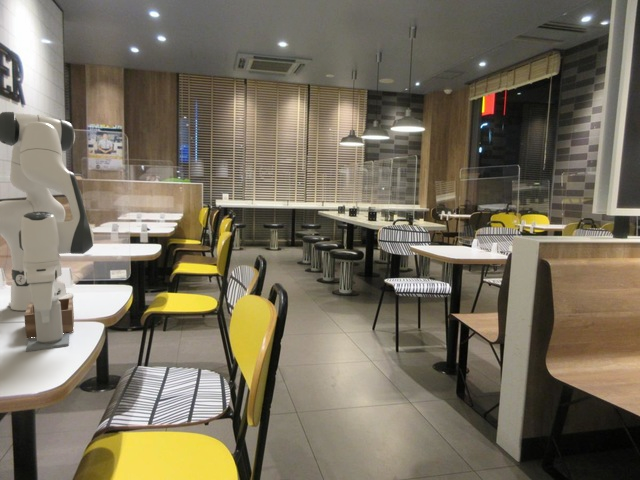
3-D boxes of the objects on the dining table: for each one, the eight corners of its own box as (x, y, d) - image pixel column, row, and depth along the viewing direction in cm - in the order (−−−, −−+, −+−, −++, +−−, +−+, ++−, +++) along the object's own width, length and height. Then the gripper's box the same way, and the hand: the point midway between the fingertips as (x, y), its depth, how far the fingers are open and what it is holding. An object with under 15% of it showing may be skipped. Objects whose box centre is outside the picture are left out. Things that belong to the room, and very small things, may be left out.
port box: (31, 323, 142) (29, 302, 141) (74, 317, 148) (72, 297, 147) (26, 338, 128) (24, 315, 127) (73, 332, 134) (71, 309, 133)
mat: (29, 340, 127) (29, 338, 127) (69, 334, 132) (69, 332, 132) (25, 351, 118) (25, 349, 118) (68, 345, 123) (68, 343, 123)
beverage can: (47, 345, 121) (44, 303, 120) (31, 342, 123) (28, 301, 122) (68, 338, 127) (65, 297, 125) (52, 335, 129) (49, 295, 128)
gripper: (33, 265, 130) (36, 310, 132) (25, 278, 112) (30, 330, 114) (57, 263, 133) (61, 307, 135) (54, 276, 115) (58, 327, 117)
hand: (46, 318), depth 124 cm, fingers closed on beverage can, 5 cm apart
